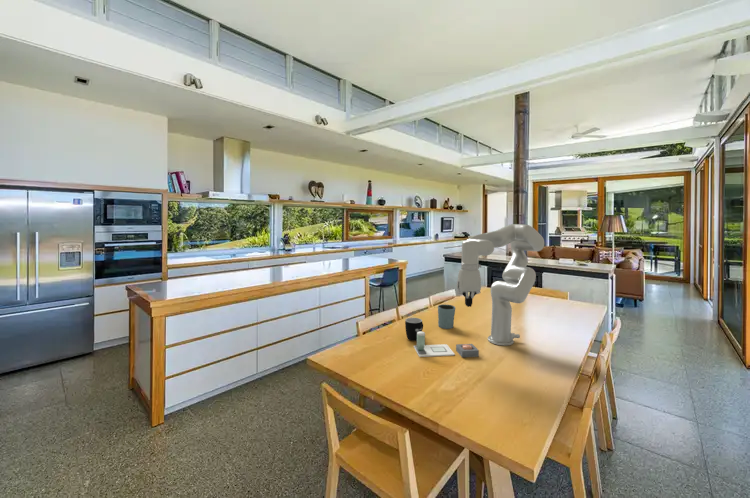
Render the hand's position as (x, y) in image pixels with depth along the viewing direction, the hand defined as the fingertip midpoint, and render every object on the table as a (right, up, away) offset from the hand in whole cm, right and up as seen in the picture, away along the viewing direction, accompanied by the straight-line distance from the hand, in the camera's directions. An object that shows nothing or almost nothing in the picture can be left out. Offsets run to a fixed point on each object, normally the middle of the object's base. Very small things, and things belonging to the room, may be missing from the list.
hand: (468, 305), depth 157 cm
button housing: (0, -23, +2) cm, 23 cm away
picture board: (-15, -23, +5) cm, 28 cm away
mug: (-22, -21, +22) cm, 38 cm away
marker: (-22, -22, +5) cm, 31 cm away
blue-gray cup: (-2, -19, +40) cm, 45 cm away
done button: (0, -22, +2) cm, 23 cm away
